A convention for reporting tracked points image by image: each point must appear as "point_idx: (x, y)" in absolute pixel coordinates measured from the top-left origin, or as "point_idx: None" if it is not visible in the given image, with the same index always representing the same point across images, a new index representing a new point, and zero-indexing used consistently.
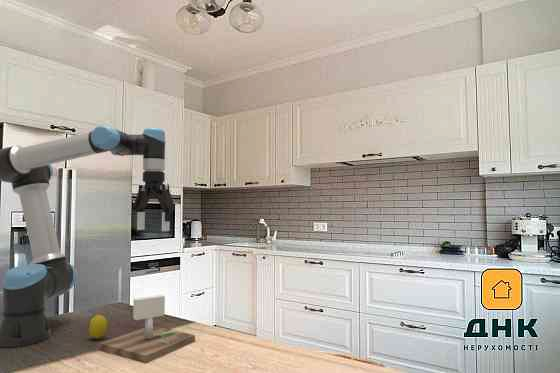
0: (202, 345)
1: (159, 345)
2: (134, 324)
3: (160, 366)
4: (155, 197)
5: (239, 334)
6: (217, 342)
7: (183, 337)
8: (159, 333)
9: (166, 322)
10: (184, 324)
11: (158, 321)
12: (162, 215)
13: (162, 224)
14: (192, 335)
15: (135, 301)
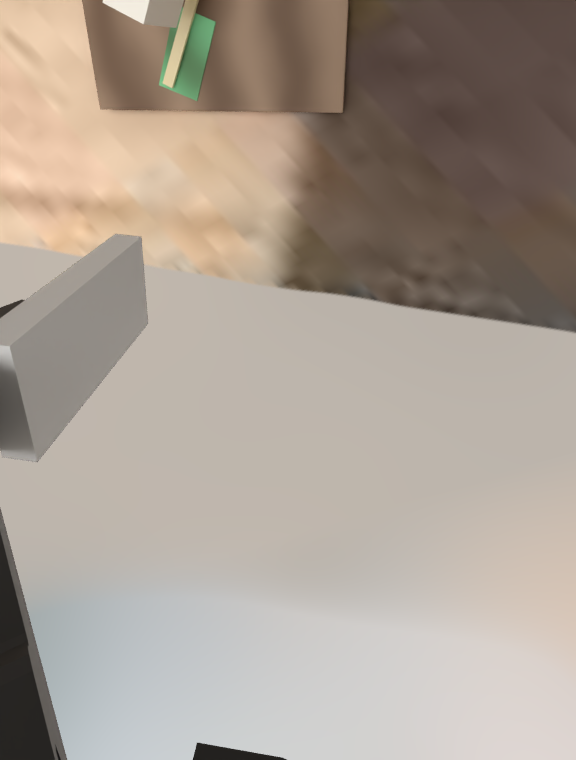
0: (56, 84)
1: None
2: (482, 150)
3: None
4: (28, 649)
5: (50, 245)
6: (42, 140)
7: (110, 57)
8: (191, 7)
9: (371, 237)
10: (289, 249)
11: (412, 232)
12: (33, 320)
13: (98, 265)
14: (102, 98)
15: None
